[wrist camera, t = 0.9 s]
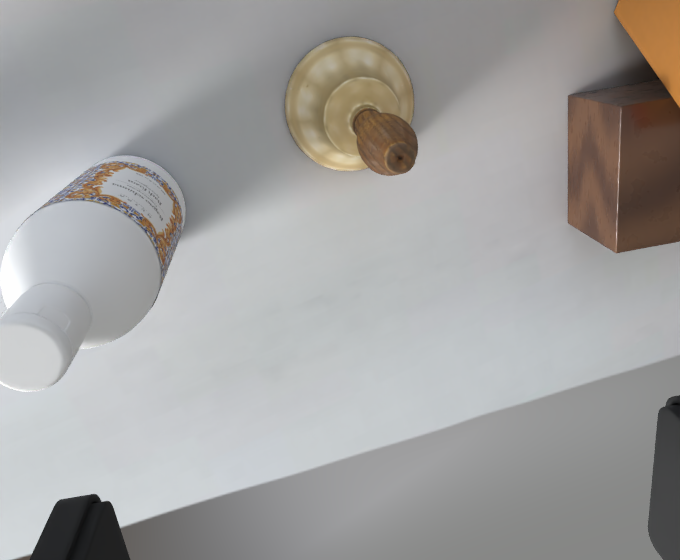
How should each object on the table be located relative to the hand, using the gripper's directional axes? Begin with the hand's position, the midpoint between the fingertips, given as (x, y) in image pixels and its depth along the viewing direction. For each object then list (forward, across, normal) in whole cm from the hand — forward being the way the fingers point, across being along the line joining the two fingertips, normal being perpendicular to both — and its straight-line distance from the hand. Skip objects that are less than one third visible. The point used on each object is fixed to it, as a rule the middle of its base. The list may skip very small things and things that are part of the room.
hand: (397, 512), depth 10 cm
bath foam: (+32, +11, +1) cm, 34 cm away
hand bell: (+32, -4, -3) cm, 33 cm away
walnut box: (+32, -25, +2) cm, 41 cm away
